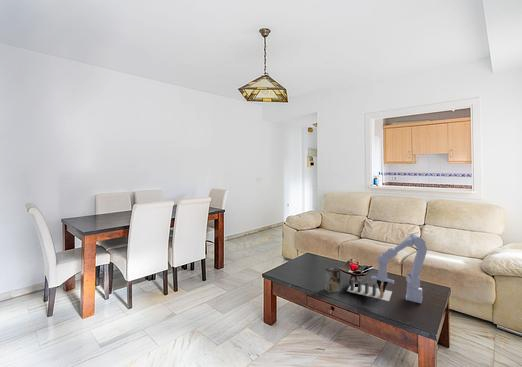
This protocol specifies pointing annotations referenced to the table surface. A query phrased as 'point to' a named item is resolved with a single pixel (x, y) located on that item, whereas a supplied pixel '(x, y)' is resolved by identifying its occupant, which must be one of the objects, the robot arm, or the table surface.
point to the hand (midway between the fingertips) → (382, 291)
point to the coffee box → (332, 280)
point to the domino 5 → (381, 291)
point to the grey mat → (386, 294)
